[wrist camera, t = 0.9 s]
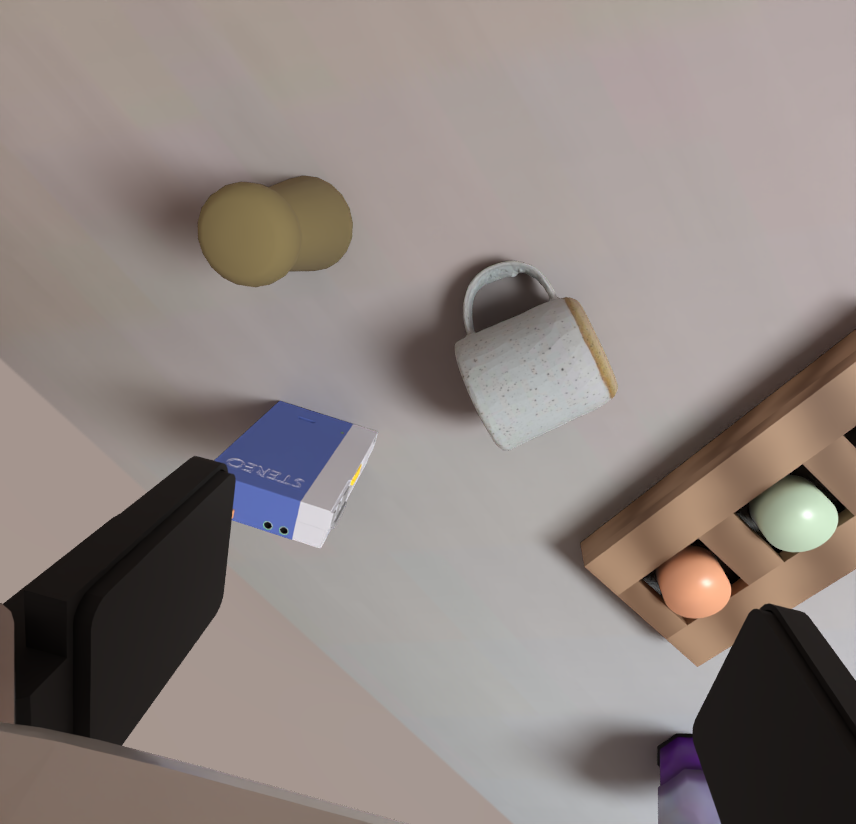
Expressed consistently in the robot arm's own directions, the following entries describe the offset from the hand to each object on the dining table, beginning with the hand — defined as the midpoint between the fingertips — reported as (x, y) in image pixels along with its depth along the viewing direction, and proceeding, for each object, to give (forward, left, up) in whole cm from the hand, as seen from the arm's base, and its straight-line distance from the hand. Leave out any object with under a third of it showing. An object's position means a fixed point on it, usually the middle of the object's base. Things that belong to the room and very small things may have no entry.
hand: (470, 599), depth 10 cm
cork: (+5, -13, -31) cm, 34 cm away
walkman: (+16, -3, -31) cm, 35 cm away
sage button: (-3, +23, -29) cm, 37 cm away
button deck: (-3, +23, -31) cm, 39 cm away
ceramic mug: (+1, +3, -31) cm, 31 cm away
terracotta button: (+5, +23, -29) cm, 38 cm away
